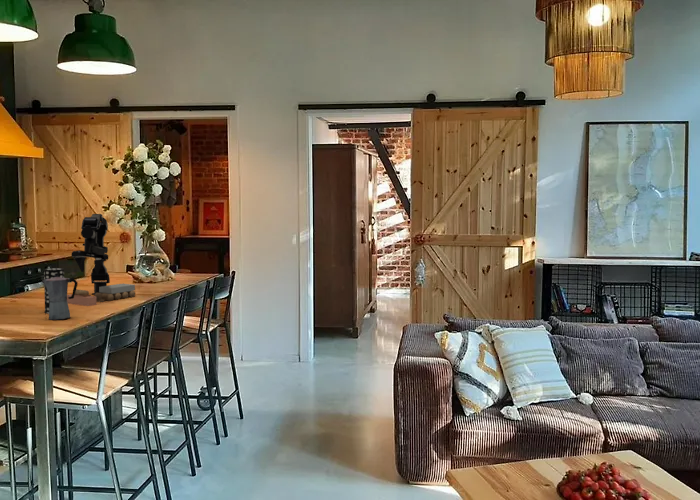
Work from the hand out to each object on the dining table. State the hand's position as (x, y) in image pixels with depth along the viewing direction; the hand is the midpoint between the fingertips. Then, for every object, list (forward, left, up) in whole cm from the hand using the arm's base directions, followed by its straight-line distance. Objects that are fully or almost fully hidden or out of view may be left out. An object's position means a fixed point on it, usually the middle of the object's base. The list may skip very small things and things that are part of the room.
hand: (89, 272), depth 328 cm
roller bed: (-3, +14, -16) cm, 21 cm away
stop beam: (-3, -3, -16) cm, 16 cm away
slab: (-3, +20, -12) cm, 24 cm away
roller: (-3, -3, -12) cm, 12 cm away
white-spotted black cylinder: (+6, -26, -16) cm, 31 cm away
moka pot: (+21, -35, -16) cm, 43 cm away
